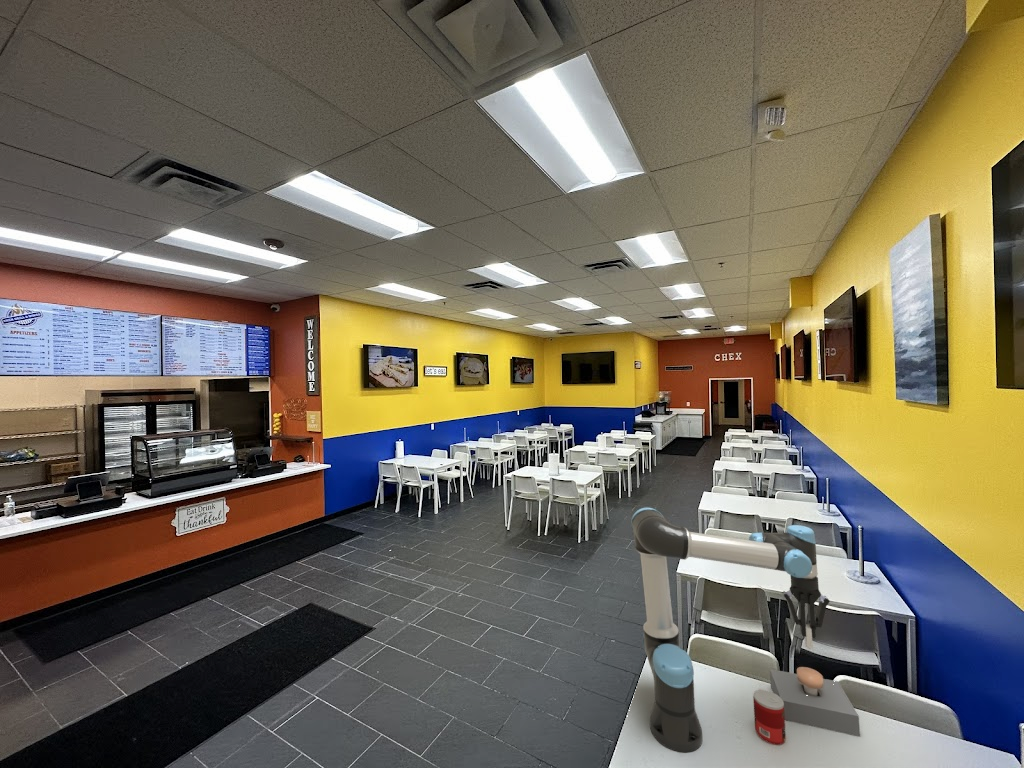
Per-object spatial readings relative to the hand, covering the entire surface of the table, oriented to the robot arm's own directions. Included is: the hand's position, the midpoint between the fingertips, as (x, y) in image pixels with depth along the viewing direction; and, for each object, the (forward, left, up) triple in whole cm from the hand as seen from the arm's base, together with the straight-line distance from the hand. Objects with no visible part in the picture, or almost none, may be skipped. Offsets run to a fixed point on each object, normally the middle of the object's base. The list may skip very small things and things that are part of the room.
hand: (808, 646), depth 134 cm
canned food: (-15, -16, -21) cm, 30 cm away
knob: (0, 0, -17) cm, 17 cm away
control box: (0, 0, -20) cm, 20 cm away
